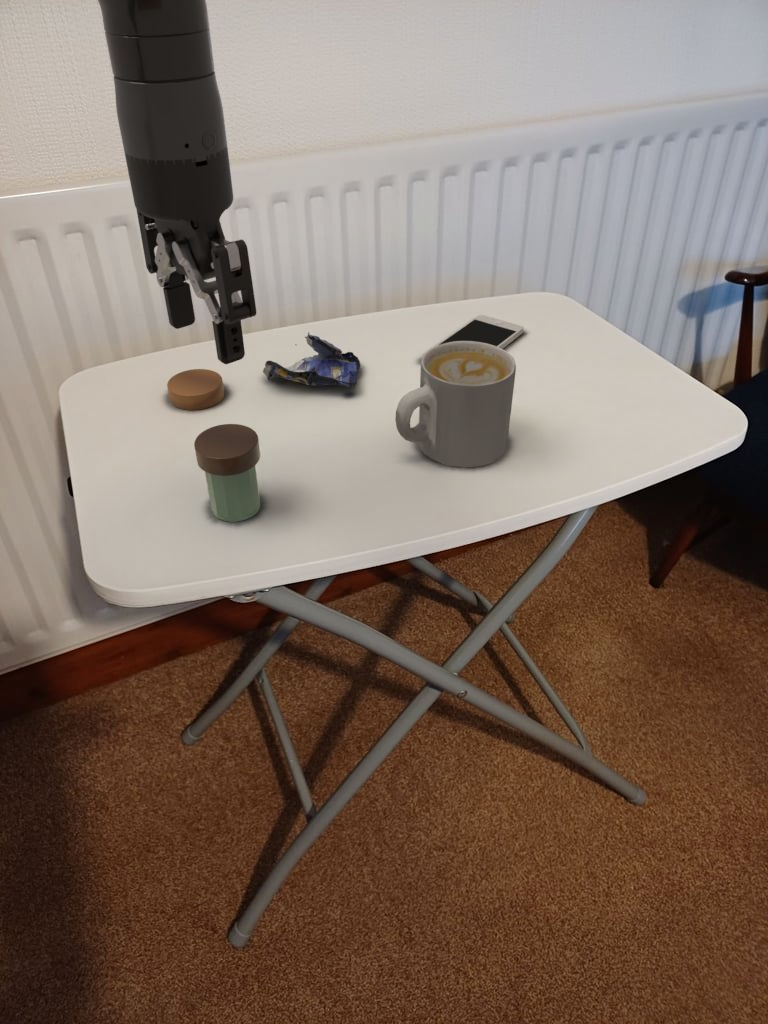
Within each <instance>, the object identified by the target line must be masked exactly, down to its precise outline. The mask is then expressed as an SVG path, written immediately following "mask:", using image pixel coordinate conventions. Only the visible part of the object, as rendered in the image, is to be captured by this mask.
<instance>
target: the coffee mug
mask: <svg viewBox="0 0 768 1024" xmlns="http://www.w3.org/2000/svg"><path fill="white" fill-rule="evenodd" d="M436 345H437V344H436ZM436 345H434V346H435V347H434V346H433V347H431V348H430V349H428V350H426V352H424V353H425V354H424V353H423V354H424V355H423V354H422V357H421V360H420V373H419V374H420V375H419V387H418V388H416V389H413V390H410V391H408V392H407V393H405V394H404V395H403V396H402V397H401V399H400V400H399V401H398V404H397V406H396V410H395V425H396V430H397V432H398V433H399V436H401V437H402V438H403V440H405V441H407V442H411V443H418V446H419V448H420V450H421V452H422V453H423V454H424V455H426V457H428V458H429V459H431V460H433V461H434V462H436V463H439V464H441V465H444V466H448V467H452V468H453V467H454V468H479V467H483V466H487V465H490V464H492V463H495V462H496V461H497V460H499V459H501V458H502V456H503V455H505V453H506V451H507V447H508V441H509V431H510V424H511V414H512V406H513V398H514V390H515V389H514V388H515V382H516V381H515V380H516V371H517V364H516V361H515V358H514V357H513V355H511V354H510V353H509V352H508V351H506V350H504V348H503V349H501V348H499V347H496V346H494V345H490V344H487V343H482V342H474V341H455V342H448V343H444V344H440V345H437V346H436ZM417 408H418V409H419V411H418V423H417V424H416V425H415V426H413V427H411V418H412V416H413V413H414V412H415V410H416V409H417Z"/></svg>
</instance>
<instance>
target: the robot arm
mask: <svg viewBox="0 0 768 1024" xmlns="http://www.w3.org/2000/svg"><path fill="white" fill-rule="evenodd" d="M97 2H98V4H99V7H100V10H101V11H100V12H101V16H102V23H103V31H104V36H105V40H106V46H107V51H108V55H109V61H110V67H111V71H112V75H113V83H114V84H113V85H114V92H115V93H114V94H115V107H116V109H115V110H116V116H117V122H118V127H119V131H120V137H121V142H122V146H123V153H124V156H125V162H126V167H127V172H128V177H129V182H130V188H131V193H132V197H133V203H134V207H135V209H136V214H137V221H138V227H139V231H140V232H139V233H140V238H141V244H142V249H143V255H144V260H145V261H144V262H145V267H146V269H147V272H148V273H149V274H150V275H152V274H156V281H157V284H158V285H159V287H160V288H162V290H163V295H164V299H165V300H164V302H165V306H166V307H165V308H166V311H167V317H168V322H169V325H170V326H171V327H172V328H174V329H177V330H179V329H182V328H185V327H188V326H191V325H194V324H195V321H196V316H195V309H194V303H193V298H192V297H193V296H192V291H191V288H192V289H193V292H194V295H195V296H196V297H197V298H199V299H202V300H203V301H204V302H205V305H206V307H207V309H208V312H209V314H210V316H211V318H212V329H213V334H214V336H213V337H214V342H215V349H216V356H217V360H218V361H219V362H221V363H222V364H224V365H229V364H232V363H234V362H237V361H240V360H242V359H244V357H245V355H246V351H245V343H244V334H243V328H242V321H243V320H246V319H249V318H252V317H256V315H257V306H256V299H255V291H254V285H253V277H252V271H251V263H250V257H249V256H250V255H249V249H248V246H247V242H246V241H245V240H244V239H238V240H232V241H229V240H227V239H226V236H225V234H224V232H223V231H224V230H223V228H222V223H221V221H220V220H221V216H222V215H223V214H224V213H225V211H226V210H228V209H230V207H232V204H233V202H234V190H233V182H232V174H231V165H230V157H229V149H228V139H227V133H226V132H227V131H226V124H225V116H224V108H223V103H222V98H221V94H220V89H219V86H218V82H217V77H216V71H215V63H214V62H215V61H214V54H213V53H214V52H213V46H212V36H211V29H210V22H209V21H210V19H209V12H208V6H207V1H206V0H97ZM156 247H157V248H156ZM155 249H156V252H155ZM214 278H215V280H213V281H209V282H208V281H206V280H211V279H214ZM187 281H189V283H188V282H187ZM239 292H240V293H241V296H240V294H239ZM216 294H218V299H217V296H216Z"/></svg>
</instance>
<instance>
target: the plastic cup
mask: <svg viewBox="0 0 768 1024" xmlns="http://www.w3.org/2000/svg"><path fill="white" fill-rule="evenodd" d="M256 465H257V464H256ZM256 465H255V466H254V467H253V468H251V469H249V470H248V471H246V472H243V473H240V474H236V475H230V476H218V475H212V474H209V473H207V472H205V471H204V474H205V480H206V485H207V491H208V497H209V503H210V509H211V510H212V511H211V512H212V513H213V515H214V516H215V517H216V518H217V519H219V520H221V521H223V522H229V523H230V522H231V523H235V522H243V521H246V520H249V519H251V518H252V517H254V516H255V515H256V514H257V513H258V512H259V511H260V508H261V497H260V496H261V495H260V489H259V482H258V471H257V466H256Z"/></svg>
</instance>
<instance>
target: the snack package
mask: <svg viewBox="0 0 768 1024" xmlns="http://www.w3.org/2000/svg"><path fill="white" fill-rule="evenodd" d="M304 339H305V340H306V343H307V345H308V346H309V347H310V348H312V349H313V351H315V352H316V353H317V354H314V355H312V356H307V357H304V358H301V359H300V360H298V361H296V362H294V364H292V365H289V366H288V367H284V366H282V365H281V364H279V363H277V362H276V361H273V360H265V363H264V368H263V370H262V373H263V374H264V375H265V377H266V380H270V378H272V377H273V376H275V377H279V378H280V379H283V380H287V381H293V382H297V383H301V384H303V385H306V386H310V387H312V386H313V387H317V386H318V387H319V386H326V385H327V386H330V385H338V386H340V387H345V388H347V389H349V390H352V389H353V387H354V386H355V384H356V381H357V375H358V373H359V370H360V369H361V361H360V359H359V357H358V356H356V355H355V354H354V352H352V351H347V352H345V353H344V352H343V351H342V349H340V348H339V347H337V346H335V345H334V344H333V343H331V342H328V341H327V340H325V339H321V337H319V335H318V336H317V335H311V334H310V331H308V332H307V335H306V336H304ZM295 346H298V344H295ZM348 395H351V393H350V392H349V393H348Z"/></svg>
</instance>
